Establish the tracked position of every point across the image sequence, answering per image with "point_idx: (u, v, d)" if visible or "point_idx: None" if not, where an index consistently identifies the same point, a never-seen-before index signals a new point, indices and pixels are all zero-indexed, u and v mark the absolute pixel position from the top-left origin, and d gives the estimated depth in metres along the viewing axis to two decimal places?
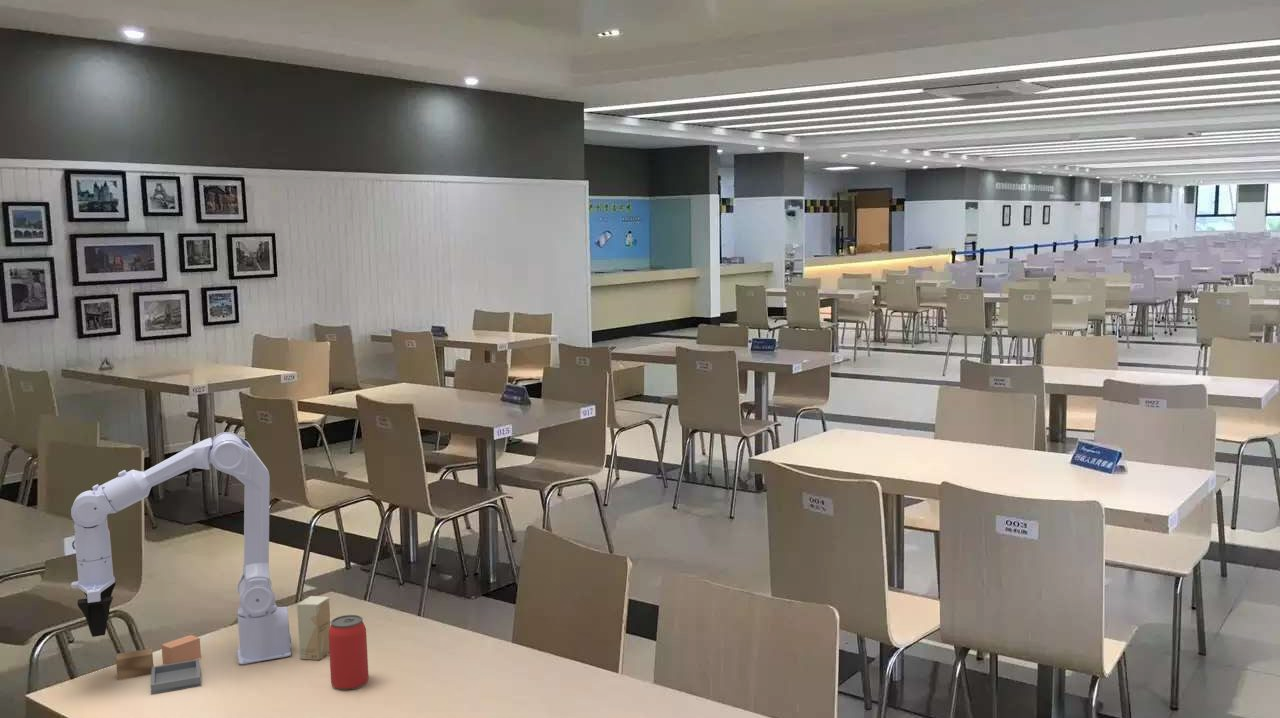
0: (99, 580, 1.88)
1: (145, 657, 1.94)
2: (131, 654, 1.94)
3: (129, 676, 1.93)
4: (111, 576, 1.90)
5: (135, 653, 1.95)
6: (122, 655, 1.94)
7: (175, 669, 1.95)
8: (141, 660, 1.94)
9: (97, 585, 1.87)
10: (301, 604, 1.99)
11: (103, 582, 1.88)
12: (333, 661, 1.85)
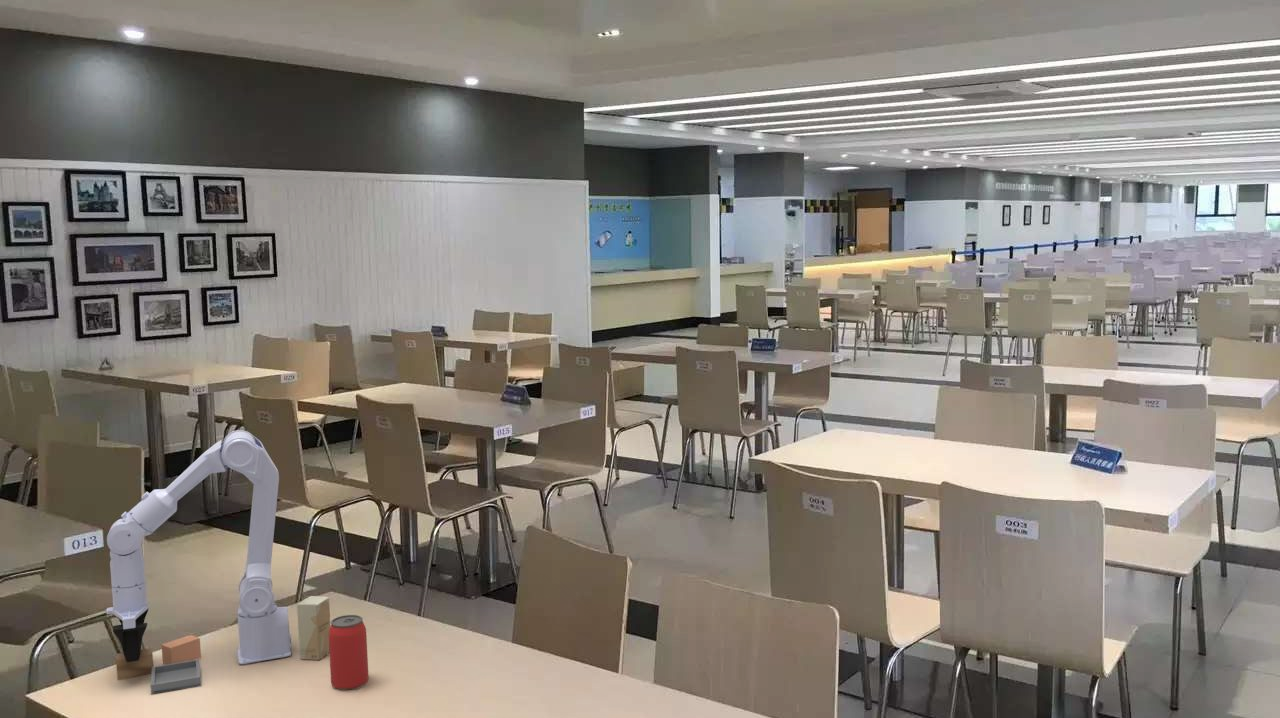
0: (133, 606, 1.91)
1: (145, 657, 1.94)
2: None
3: (129, 676, 1.93)
4: (145, 602, 1.93)
5: None
6: (122, 655, 1.94)
7: (175, 669, 1.95)
8: (141, 660, 1.94)
9: (132, 611, 1.91)
10: (301, 604, 1.99)
11: (137, 608, 1.92)
12: (333, 661, 1.85)
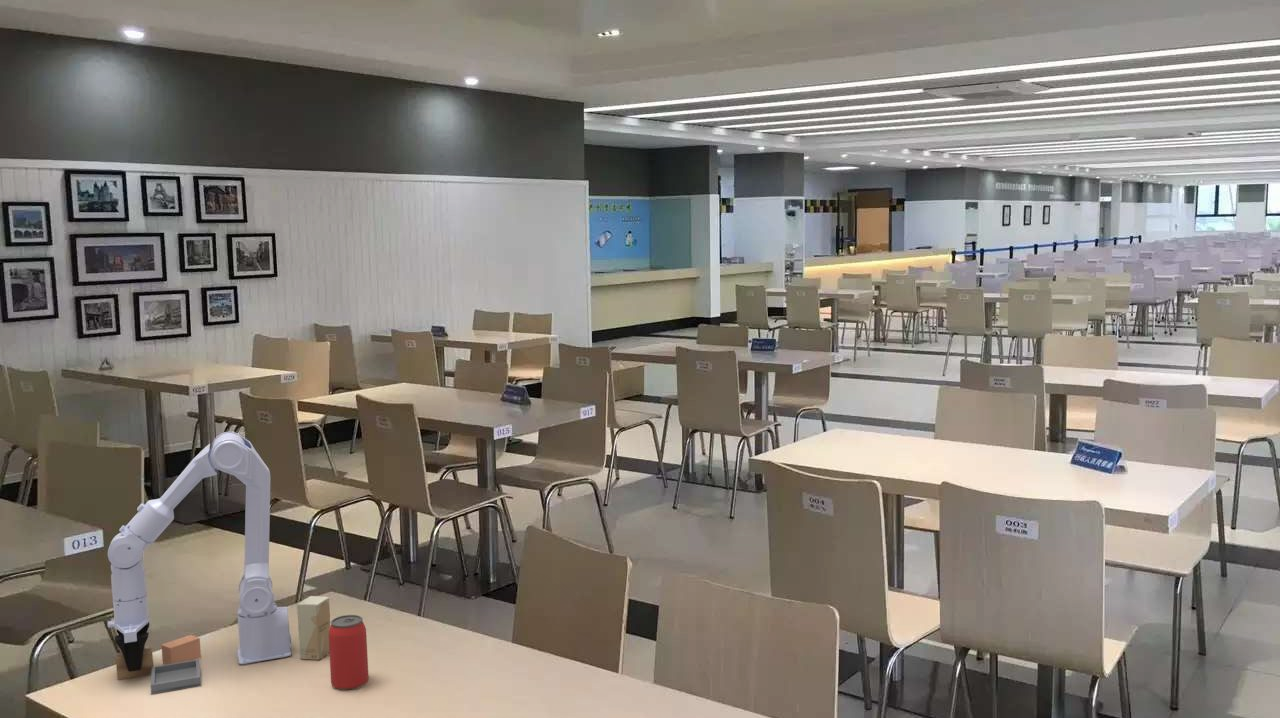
0: (134, 620, 1.91)
1: (145, 657, 1.94)
2: None
3: (129, 675, 1.93)
4: (146, 615, 1.94)
5: None
6: (122, 654, 1.94)
7: (175, 669, 1.95)
8: None
9: (133, 625, 1.91)
10: (301, 604, 1.99)
11: (139, 622, 1.92)
12: (333, 661, 1.85)
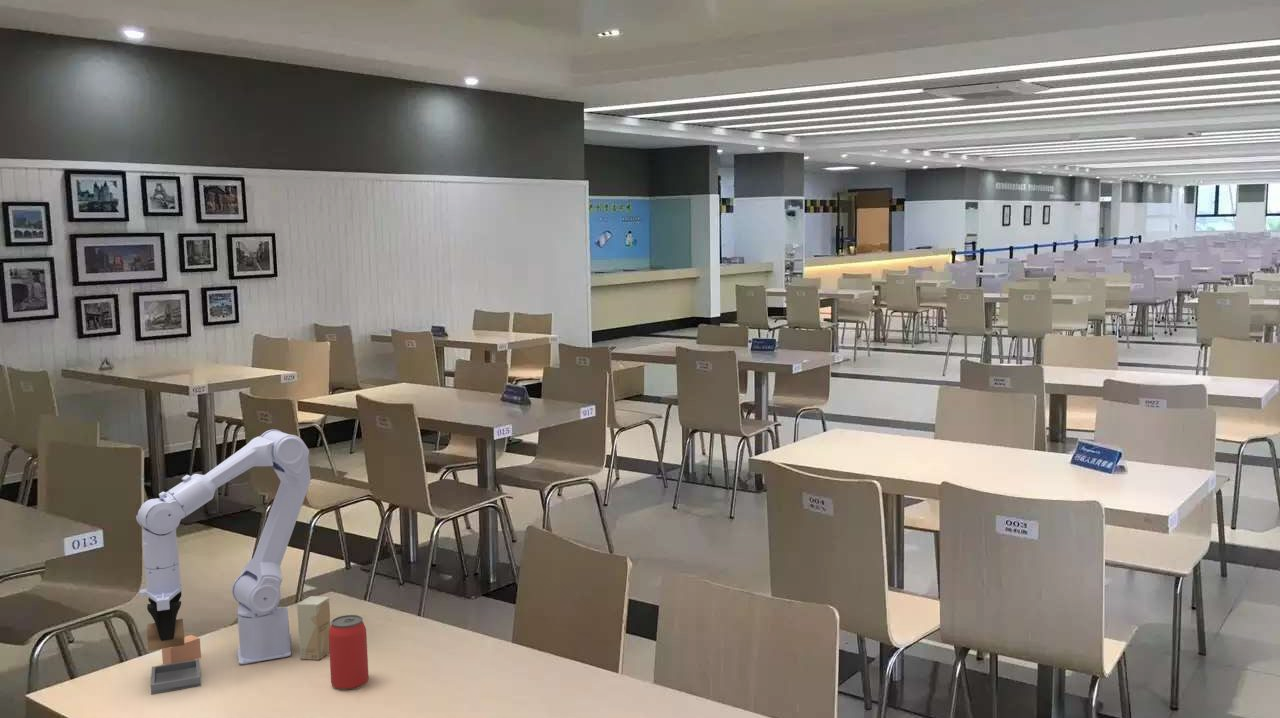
0: (167, 588, 1.88)
1: (176, 627, 1.90)
2: None
3: (160, 646, 1.89)
4: (179, 584, 1.90)
5: None
6: (153, 625, 1.90)
7: (175, 669, 1.95)
8: None
9: (165, 593, 1.87)
10: (301, 604, 1.99)
11: (171, 590, 1.88)
12: (333, 661, 1.85)
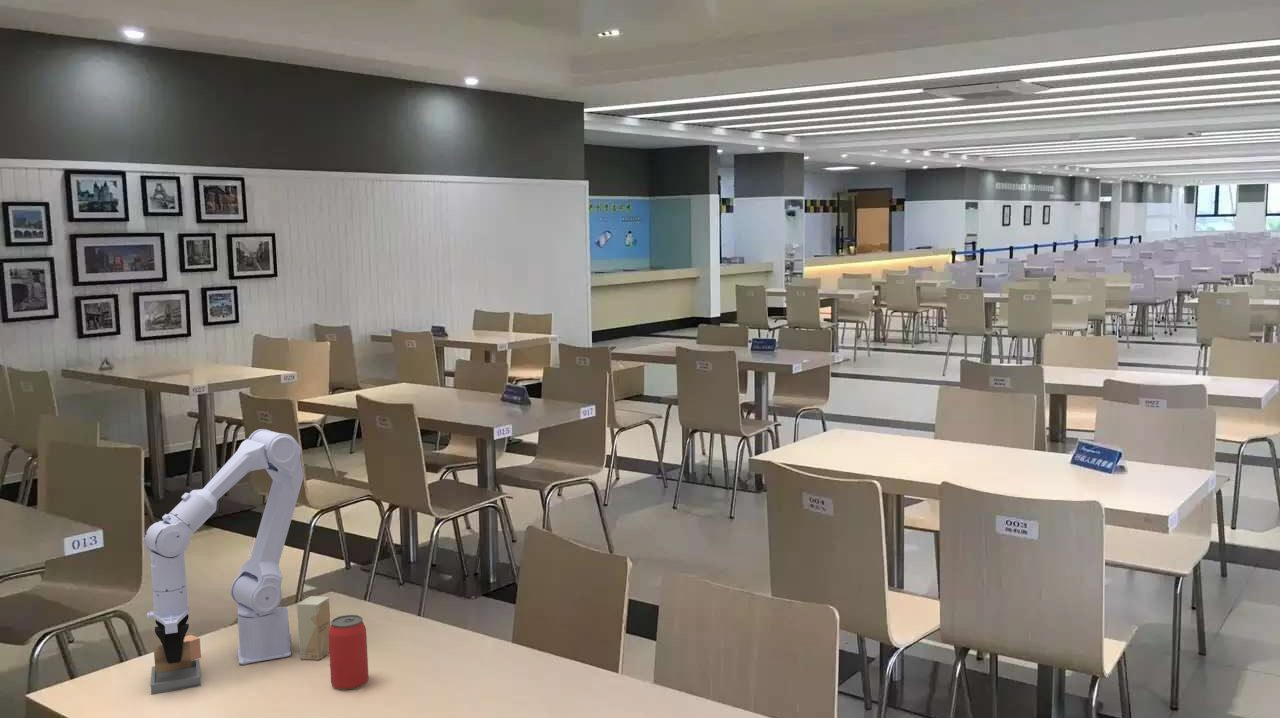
0: (175, 611, 1.88)
1: (183, 650, 1.90)
2: None
3: (167, 669, 1.89)
4: (186, 606, 1.90)
5: None
6: (160, 647, 1.90)
7: None
8: None
9: (173, 616, 1.87)
10: (301, 604, 1.99)
11: (179, 613, 1.88)
12: (333, 661, 1.85)
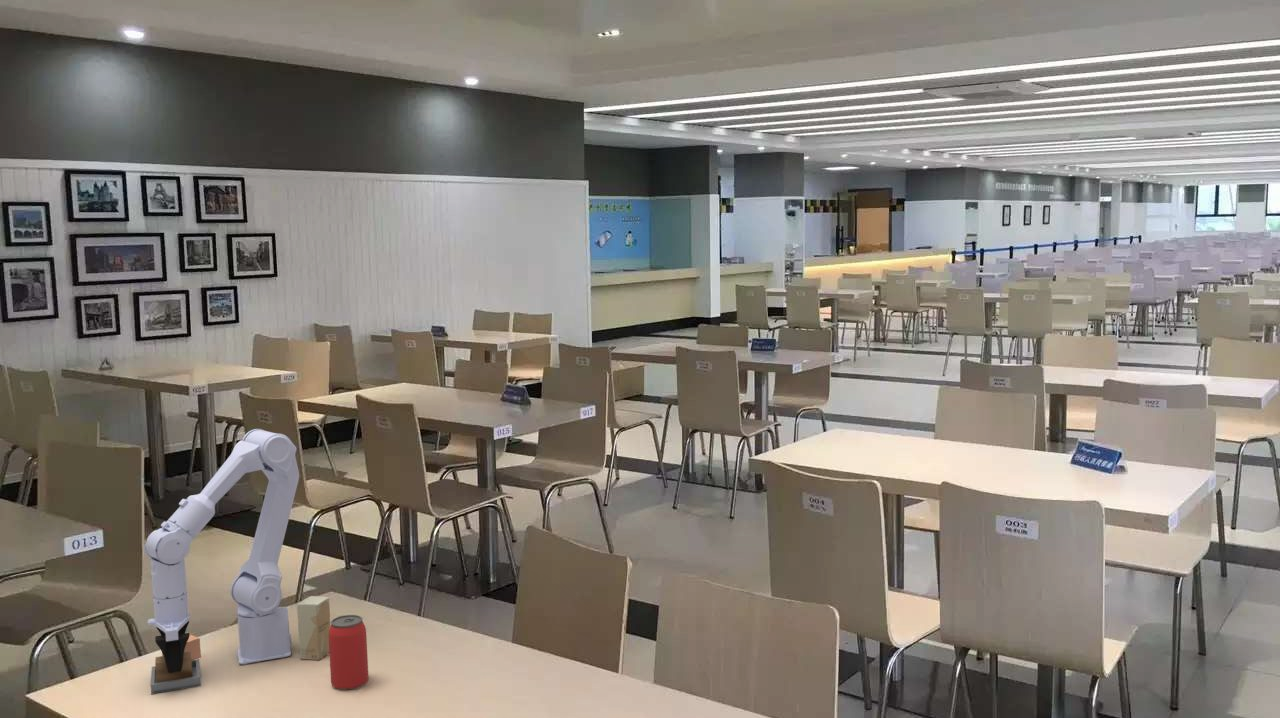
0: (175, 618, 1.88)
1: (184, 661, 1.90)
2: None
3: (168, 680, 1.89)
4: (187, 613, 1.90)
5: None
6: (161, 658, 1.90)
7: None
8: None
9: (174, 623, 1.87)
10: (301, 604, 1.99)
11: (179, 620, 1.88)
12: (333, 661, 1.85)
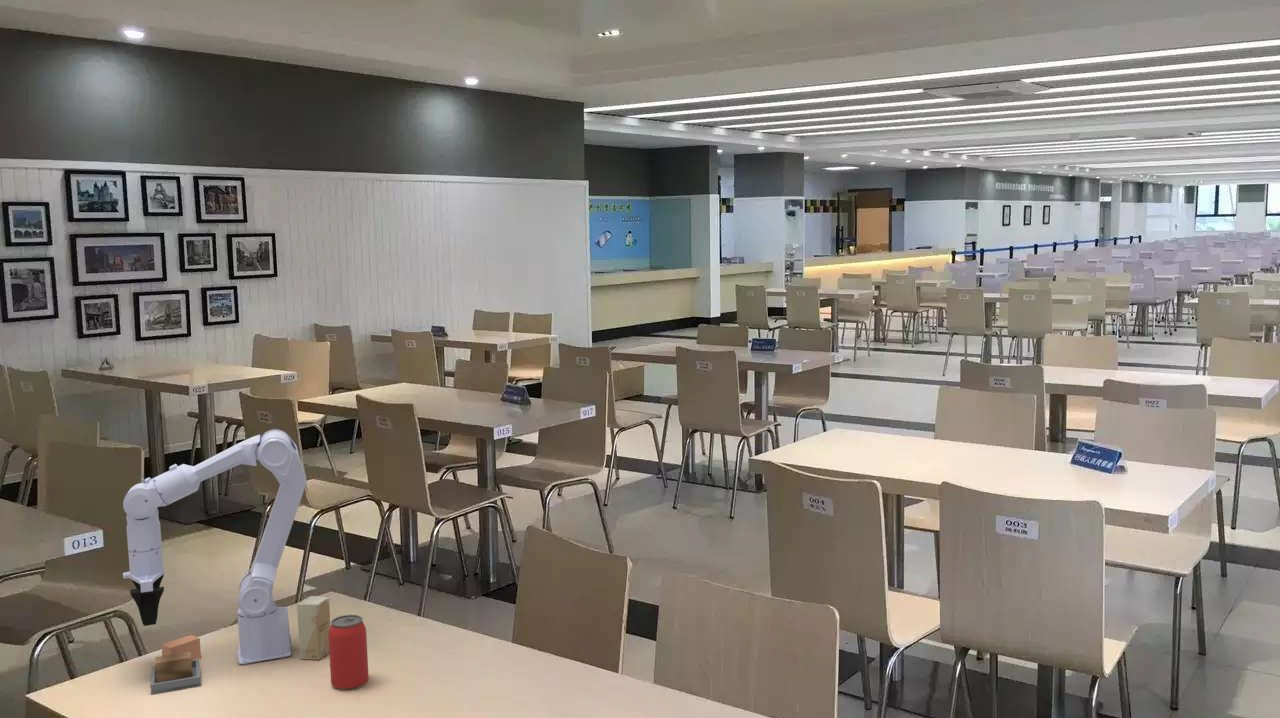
0: (150, 571, 1.92)
1: (184, 661, 1.90)
2: (170, 657, 1.91)
3: (168, 680, 1.89)
4: (161, 567, 1.95)
5: (174, 656, 1.91)
6: (161, 658, 1.90)
7: None
8: (181, 663, 1.90)
9: (148, 575, 1.92)
10: (301, 604, 1.99)
11: (154, 573, 1.93)
12: (333, 661, 1.85)
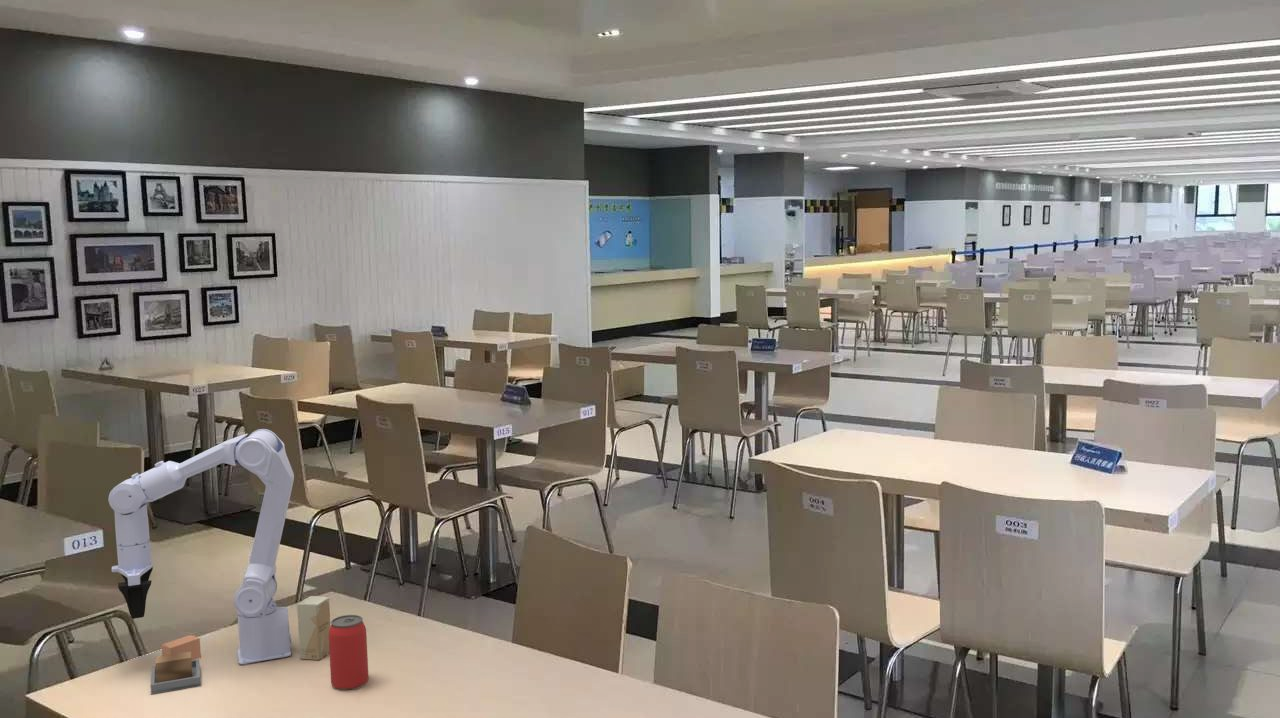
0: (138, 564, 1.95)
1: (184, 661, 1.90)
2: (170, 657, 1.91)
3: (168, 680, 1.89)
4: (149, 561, 1.98)
5: (174, 656, 1.91)
6: (161, 658, 1.90)
7: None
8: (181, 663, 1.90)
9: (136, 569, 1.95)
10: (301, 604, 1.99)
11: (142, 566, 1.96)
12: (333, 661, 1.85)
